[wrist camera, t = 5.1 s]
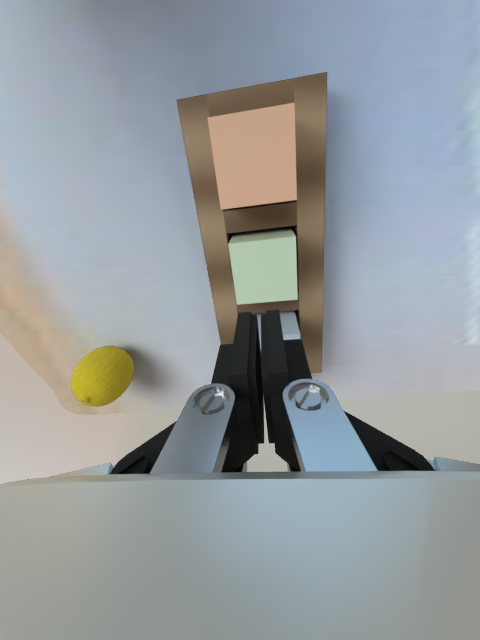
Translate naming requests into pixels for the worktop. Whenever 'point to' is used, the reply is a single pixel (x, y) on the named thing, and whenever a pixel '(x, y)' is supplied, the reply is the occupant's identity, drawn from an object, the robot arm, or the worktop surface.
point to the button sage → (264, 265)
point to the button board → (297, 213)
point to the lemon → (102, 376)
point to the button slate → (284, 325)
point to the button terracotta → (255, 156)
